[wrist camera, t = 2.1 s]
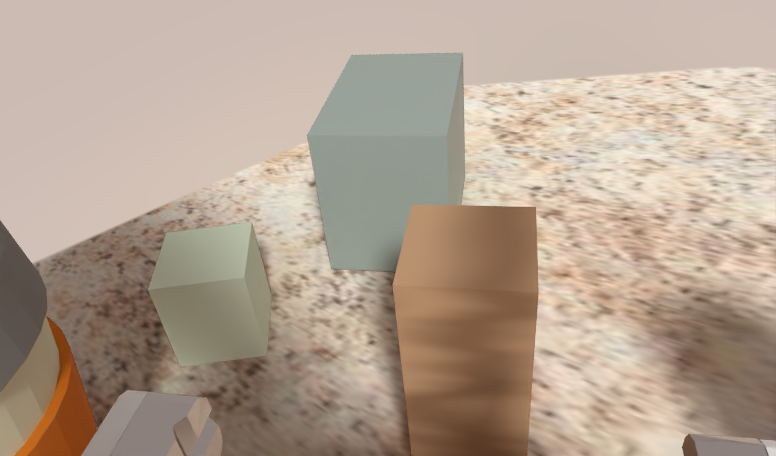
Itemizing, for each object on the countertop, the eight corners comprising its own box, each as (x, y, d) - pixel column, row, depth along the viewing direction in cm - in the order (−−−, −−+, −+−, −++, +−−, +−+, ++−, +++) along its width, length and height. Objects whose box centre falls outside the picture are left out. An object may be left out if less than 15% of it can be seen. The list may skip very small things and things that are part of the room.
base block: (331, 268, 42) (307, 135, 36) (366, 173, 52) (351, 55, 46) (451, 274, 41) (446, 135, 35) (465, 174, 50) (462, 52, 44)
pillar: (414, 478, 29) (392, 285, 22) (426, 392, 33) (411, 204, 26) (524, 490, 28) (538, 291, 21) (524, 400, 32) (535, 207, 25)
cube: (180, 367, 36) (147, 289, 33) (193, 307, 40) (166, 232, 37) (267, 356, 36) (244, 277, 33) (272, 297, 40) (252, 221, 37)
